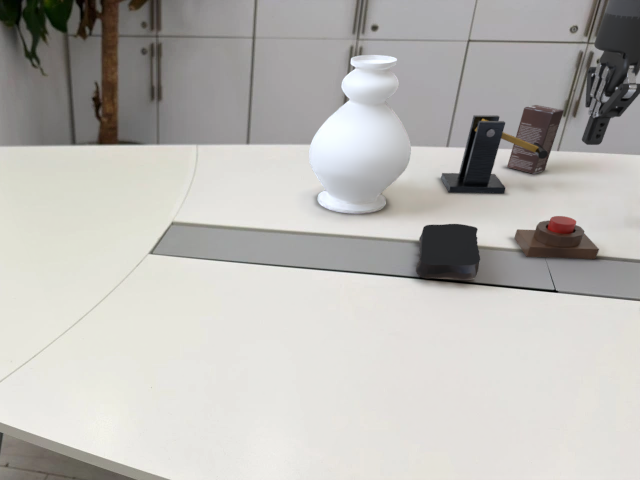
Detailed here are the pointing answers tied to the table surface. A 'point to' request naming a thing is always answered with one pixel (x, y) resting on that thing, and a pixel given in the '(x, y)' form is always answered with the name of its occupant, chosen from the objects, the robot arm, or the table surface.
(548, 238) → the button block
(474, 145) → the switch bracket
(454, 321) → the table surface
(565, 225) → the red button
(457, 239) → the black sponge
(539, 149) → the switch lever
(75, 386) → the table surface
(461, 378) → the table surface
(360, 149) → the decorative vase
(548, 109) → the box
